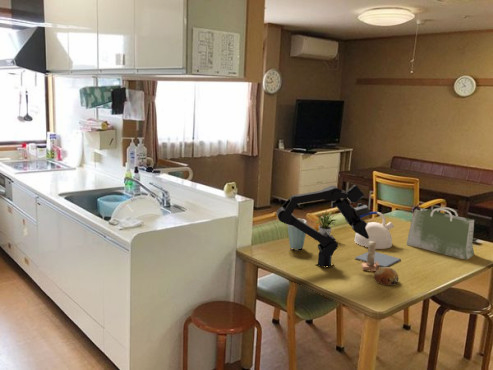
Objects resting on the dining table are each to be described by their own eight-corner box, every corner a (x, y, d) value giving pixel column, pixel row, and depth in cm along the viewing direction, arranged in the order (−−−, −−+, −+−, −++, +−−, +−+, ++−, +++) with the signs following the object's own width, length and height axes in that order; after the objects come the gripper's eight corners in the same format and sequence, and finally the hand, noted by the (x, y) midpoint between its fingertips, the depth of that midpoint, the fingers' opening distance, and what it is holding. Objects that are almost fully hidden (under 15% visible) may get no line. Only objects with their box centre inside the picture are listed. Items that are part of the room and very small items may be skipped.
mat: (385, 268, 207) (385, 266, 207) (354, 258, 218) (355, 257, 218) (400, 260, 218) (400, 258, 218) (371, 252, 229) (371, 250, 229)
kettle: (397, 250, 235) (401, 217, 231) (358, 248, 235) (361, 215, 232) (386, 238, 255) (389, 208, 251) (350, 237, 255) (352, 206, 252)
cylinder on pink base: (362, 270, 203) (365, 243, 201) (361, 266, 208) (363, 240, 205) (378, 272, 202) (381, 244, 200) (377, 268, 207) (379, 241, 204)
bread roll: (394, 286, 196) (393, 268, 198) (403, 285, 186) (401, 266, 188) (372, 285, 195) (371, 267, 197) (379, 285, 185) (378, 265, 187)
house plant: (316, 242, 241) (318, 213, 238) (306, 235, 254) (308, 207, 251) (340, 241, 245) (342, 212, 242) (328, 234, 258) (331, 207, 255)
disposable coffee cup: (299, 253, 223) (301, 224, 221) (281, 248, 230) (283, 220, 227) (309, 248, 232) (311, 220, 229) (292, 243, 238) (293, 216, 235)
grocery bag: (475, 254, 233) (481, 211, 229) (466, 260, 223) (472, 215, 219) (415, 239, 254) (419, 200, 250) (405, 244, 244) (409, 203, 240)
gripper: (365, 203, 193) (386, 230, 195) (356, 194, 212) (374, 220, 214) (344, 218, 194) (365, 245, 197) (337, 208, 213) (355, 233, 215)
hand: (365, 235), depth 205 cm, fingers open, 9 cm apart
